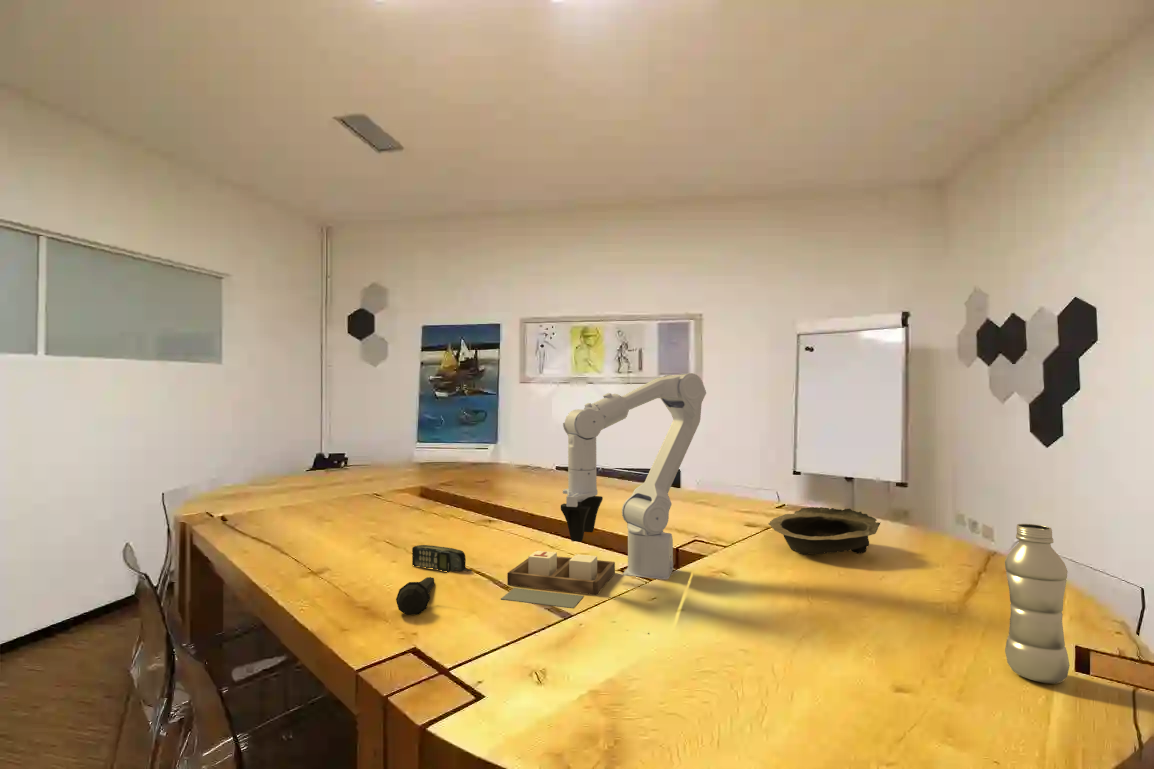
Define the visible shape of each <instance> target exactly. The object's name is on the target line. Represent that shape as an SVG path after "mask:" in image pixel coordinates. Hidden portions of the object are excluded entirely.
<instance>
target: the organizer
mask: <svg viewBox="0 0 1154 769" xmlns="http://www.w3.org/2000/svg"><path fill="white" fill-rule="evenodd" d="M571 558H572V557H568V556H558V555H557V571H556V572H555V573H554V574H552V575H551V576H545V575H536V574H528V558H526V559H525V560H524V561H522V562H520V563H519V564H518V565H516V566H515V567H514V568H512V569H511V570H509V571H508V572H507V574H506V575H507V576H506V577H507V578H506V579H507V581H506V583H507V586H514V587H520V588H521V587H523V588H530V589H531V588H532V589H538V590H539V589H540V590H550V591H559V592H567V593H574V594H583V595H590V596H591V595H592V596H598V595H599V593H600V592H601V591H602V590H603V588H604V587H605V586H607V583H608V582H609V581H610V580H611V579H612V577H613V576H614V575H615V573H616V566H615V565H616V562H615V561H612V560H611V561H610V560H600V559H599V560H598V559H597V578H596V579H595V580H594V581H592V580H583V579H573V578H569V560H570V559H571Z"/></svg>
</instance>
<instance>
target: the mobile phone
mask: <svg viewBox="0 0 1154 769" xmlns="http://www.w3.org/2000/svg"><path fill="white" fill-rule="evenodd" d="M411 553H412V558H411V559H412V566H413V565H414V566H420V567H426V568H433V569H438V570H442V571H447V572H448V573H450V572H455V573H456V572H458V573H459V572H462V571H465V572H466V571H467V572H472V571H473V570H472V569H468V568H466V562H467V561H466V558H467V557H466V553H465V552H464V551H463V550H462V549H457V548H453V547H446V546H438V545H429V544H426V545H425V544H420V545H419V544H418V545H415V546H412V548H411ZM414 566H413V567H414ZM447 572H446V573H447Z"/></svg>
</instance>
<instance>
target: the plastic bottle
mask: <svg viewBox="0 0 1154 769" xmlns="http://www.w3.org/2000/svg"><path fill="white" fill-rule="evenodd" d="M1015 538H1016V539H1017V540H1018V543H1017V544H1016V545H1015V546H1013V548H1011V550H1010V551H1009V553H1008V554H1007V555H1006V557H1005V560H1004V567H1005V568H1004V569H1005V574H1006V578H1007V580H1006V581H1007V586H1008V591H1009V592H1008V593H1009V602H1010V618H1009V627H1008V629H1009V630H1008V635H1007V639H1006V642H1005V649H1004V653H1005V657H1006V663H1007V664H1008V666H1009V667H1010V669H1011V670H1012V671H1013V672H1014V673H1015V674H1017V675H1019V676H1020V677H1023V678H1025V679H1028V680H1031V681H1034V682H1039V683H1045V684H1060V683H1062V682H1063V681H1064V680H1066V678H1067V677H1068V675H1069V670H1070V666H1071V665H1070V659H1069V654H1068V651H1067V647H1066V642H1065V632H1064V626H1063V615H1064V614H1063V610H1064V596H1065V591H1066V586H1067V579H1068V573H1069V572H1068V570H1067V569H1068V568H1067V565H1066V564H1065V562H1064V560H1063V559H1062V558H1061V556H1060V555H1059V554H1058V553H1057V552H1056V551H1055V549H1054V548H1053V547H1052V545H1051V544H1053V543H1054V538H1053V529H1052V527H1049V526H1046V525H1041V524H1035V523H1033V524H1032V523H1018V524H1016V534H1015Z"/></svg>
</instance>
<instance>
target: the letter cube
mask: <svg viewBox="0 0 1154 769" xmlns="http://www.w3.org/2000/svg"><path fill="white" fill-rule="evenodd" d="M557 554H558V553H557V552H555V551H545V550H544V551H543V550H536V551H534V552H532V553H531V554H530V555H528V558H527V559H528V574H536V575H545V576H551V575H552V574H554V573H555V572H556V571H557V556H558V555H557Z"/></svg>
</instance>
